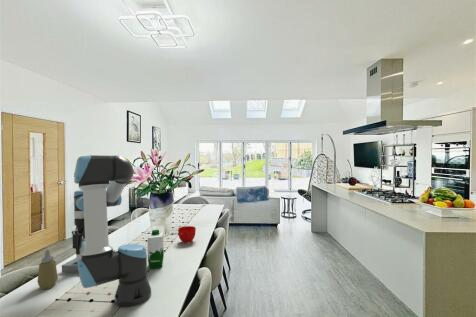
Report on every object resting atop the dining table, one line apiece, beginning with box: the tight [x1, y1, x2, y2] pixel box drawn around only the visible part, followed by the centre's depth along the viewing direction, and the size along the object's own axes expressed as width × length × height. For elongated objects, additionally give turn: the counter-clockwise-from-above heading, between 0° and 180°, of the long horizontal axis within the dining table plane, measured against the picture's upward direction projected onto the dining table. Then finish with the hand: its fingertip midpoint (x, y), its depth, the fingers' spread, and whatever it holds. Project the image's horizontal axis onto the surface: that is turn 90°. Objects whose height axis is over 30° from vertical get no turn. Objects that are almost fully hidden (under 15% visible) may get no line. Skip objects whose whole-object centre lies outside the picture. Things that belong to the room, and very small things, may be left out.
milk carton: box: [147, 229, 165, 270], centre depth 147 cm, size 9×9×20 cm
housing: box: [61, 249, 116, 274], centre depth 151 cm, size 24×16×4 cm, turn 173°
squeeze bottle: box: [37, 249, 59, 290], centre depth 124 cm, size 8×8×18 cm
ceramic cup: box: [177, 225, 197, 244], centre depth 187 cm, size 13×17×10 cm
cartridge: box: [77, 237, 85, 261], centre depth 145 cm, size 5×5×17 cm
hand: (82, 257), depth 145 cm, fingers closed on cartridge, 5 cm apart
